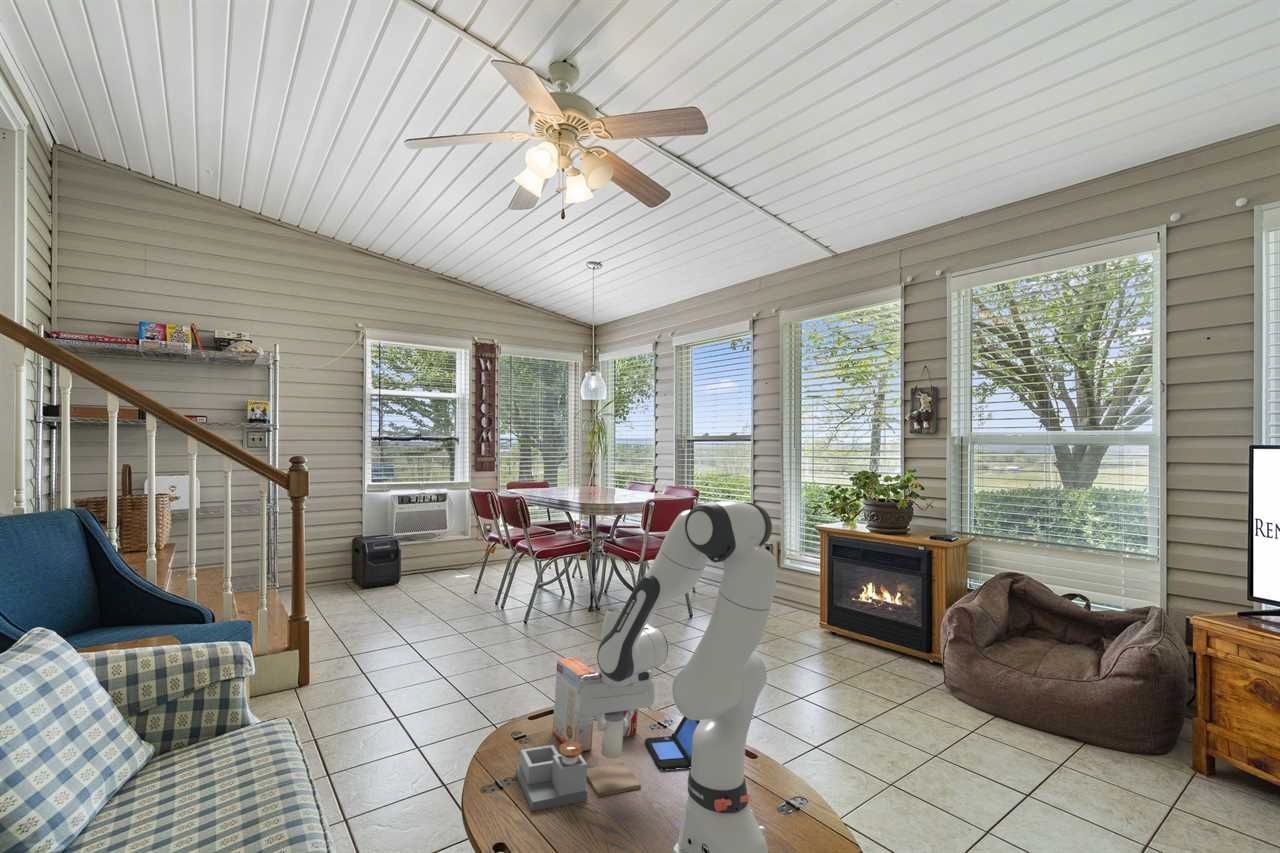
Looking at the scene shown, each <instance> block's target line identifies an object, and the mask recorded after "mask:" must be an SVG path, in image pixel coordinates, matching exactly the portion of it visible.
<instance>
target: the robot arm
mask: <svg viewBox="0 0 1280 853" xmlns="http://www.w3.org/2000/svg"><path fill="white" fill-rule="evenodd" d="M668 529H669V530H668V531H667V533H666V535H665V537H664V539H663V541H662V544H661V546H660V548H659V550H658V553H657V554H656V555H655V556H656V557H655V559H654V560H653V562H652V564H651V565H650V566H649V569H647V571H646V572H645V574H644V575H643V576H642V577H641V579H640V580H639V581H638V582H637V584H636V586H635V587H634V588H633V590H632V592H631V593H630V596H629V597H628V599H627V602H626V603H625V605H623V606H615V607H612V608H611V607H610V608H609V609H607V611H606V612H605V614H604V618H603V622H602V629H601V630H602V631H601V639H600V640H601V642H600V643H599V646H598V648H597V654H596V655H597V656H596V658H597V659H596V660H597V665H598V667H599V671H598V672H599V673H596V674H593V675H584V676H583V677H582V678H580V679H579V680H578V682H577V695H576V701H575V710H576V711H577V713H578V714H579V715H580V716H589V715H594V717H595V719H596V723H597V730H598V731H599V732H603V731H605V730H606V728H605V727H606V723H604V720H602V718H603V715H604V713H611V712H618V711H626V710H627V711H628V712H627V714H626V716H625V718H624V727H623V728H626V727H629V724H630V720H631V718H632V716H633V715H634V711H635V709H638V710H639V709H646V708H651V707H652V706H653V705H654V703H655V685H654V682H653V681H652V679H653V677H654V673H653V672H652V670H653V669H656V668H658V667H660V666H662V665H663V664H664V663H665V662H666V661H667V658H668V654H669V645H668V641H667V640H668V639H667V638H666V635H665V634H664V632H663V631H661V630H660V628H657V627H654V626H652V625H651V624H649V623H648V622H649V620H650V618H651V617H652V616H653V615H654V614H655V612H656V611H657V610H658V609H660V608H662V607H663V606H664V605H666V604H667V603H670V602H671V601H673V600H675V599H677V598H680V597H682V596H684V595H685V594H688V593H689V592H691V591H692V590H693V588H694V587H695V586H696V585H697V583H698V582H699V581H700V579H701V577H702V575H703V572H704V570H705V568H706V566H707V563H708V561H711V562H713V563H722V565H723V573H722V578H721V582H720V585H719V589H718V592H717V596H716V599H715V603H714V606H713V609H712V610H713V611H712V613H711V617H710V620H709V622H708V625H707V627H706V630H705V632H704V633H703V635H702V637H701V639H700V641H699V643H698V644H697V646H696V648H695V650H694V651H693V653H692V655H691V656H690V658H689V659H688V662H686V664H685V666H684V667H682V669H681V670H680V671H679V672H678V673H677V675H676V676H675V678H674V679H673V683H672V686H671V687H672V691H671V692H672V699H673V701H674V704H675V706H676V708H677V709H678V711H679V712H680V713H681V714H682V716H683V717H684V716H685V717H686V718H688V719H690V720H700V722H699V724H698V726H697V727H696V729H695V731H694V734H693V738H692V758H691V769H690V768H689V772H688V777H687V792H688V796H687V799H686V802H685V804H684V806H683V808H682V812H681V819H680V825H679V832H678V833H679V834H678V840H677V842H676V843H675V845H673V850H672V853H769V851H768V843H767V841H766V838H767V832H766V828H765V827H764V825H759V823H758V822H757V819H756V818H755V816H754V811H753V809H752V808H751V806H750V805H749V802H750V801H751V798H750V797H751V796H752V795H751V794H748V787H747V786H748V785H747V783H746V777H745V757H746V746H747V745H746V744H747V738H748V734H749V730H750V726H751V723H752V720H753V719H752V718H753V714H754V711H755V707H756V705H757V703H758V702H757V701H758V698H759V697H760V694H761V692H762V691H763V689H764V687H765V685H766V684H767V678H768V672H767V668H766V664H765V662H764V660H763V658H761V656H759V655H758V653H756V652H755V650H756V649H757V648H758V647H759V645H760V644H761V643H762V639H763V636H764V632H765V629H766V625H767V622H768V618H769V614H770V611H771V608H772V604H773V599H774V596H775V592H776V591H775V590H776V584H777V578H778V577H777V576H778V562H777V559H776V556H774V555H773V554H772V552H770V551H769V550H768V549H767V548H764V547H763V546H764V545H765V544H766V543H767V542H768V541H769V540H770V537H771V535H772V531H773V525H772V520H771V516H770V515H769V513H768V511H766V510H765V508H763V507H762V506H760V505H758V504H755V503H753V502H748V501H747V502H741V501H733V500H719V501H706V502H702V503H699V504H697V505H695V506H694V507H692V508H691V509H686V510H682V511H681V512H680V513H679V514H678V515H677V516H676V518H675V519H674V521H673V522H672V523H671V526H670V528H668ZM582 679H583V680H582Z"/></svg>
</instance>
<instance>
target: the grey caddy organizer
mask: <svg viewBox="0 0 1280 853" xmlns="http://www.w3.org/2000/svg"><path fill="white" fill-rule="evenodd" d="M519 759H520V760H519V765H517V766H516V767H515V777H516V778H518V779H517V781H518V780H519V781H518V783H519V786H520V787H522V788H521V791H524V792H523V794H524V797H525V796H526V797H525V799H526V798H527V799H526V802H527V804H528V806H529V808H530V810H531V812H535V811H537V812H538V811H541V810H545V809H546V810H547V809H550V808H551V809H552V808H556V807H561V806H566V805H570V804H575V803H579V802H584V801H588V793H589V792H588V790H587V781H588V780H587V769H588V763H587V761H586V760H585V759H584V758H583V755H582V753H581V754H580V755H578V764H576V765H571V766H565V767H563V766H562V755H561V754H560V752H559V751H558V750H557V748H556V747H555V745H554V744H550V745H549V744H548V745H545V746H543V745H542V746H537V747H530V748H525V749H521V750H520V756H519Z"/></svg>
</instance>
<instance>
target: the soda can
mask: <svg viewBox="0 0 1280 853" xmlns="http://www.w3.org/2000/svg"><path fill="white" fill-rule="evenodd" d="M627 712H628V711H627V710H626V711H624V718H625V716H626V714H627ZM638 716H639V709H635V711H634V715H633V716H632V718H631V720H630V724H629V727H626V728H623V736H629V737H631V736H633V735H634V734H635V733H637V729H638V728H637V727H638ZM630 735H631V736H630Z"/></svg>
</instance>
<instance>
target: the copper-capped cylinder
mask: <svg viewBox="0 0 1280 853" xmlns="http://www.w3.org/2000/svg"><path fill="white" fill-rule="evenodd" d="M558 753H559V755H560V754H561V755H562V766H563V767H565V766H571V765H576V764H578V755H580V754H581V755H582V753H583V752H582V746H581V745H580V744H579V743H576V742H566V743H563V742H562V743H561V744H560V745H559V751H558Z"/></svg>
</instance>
